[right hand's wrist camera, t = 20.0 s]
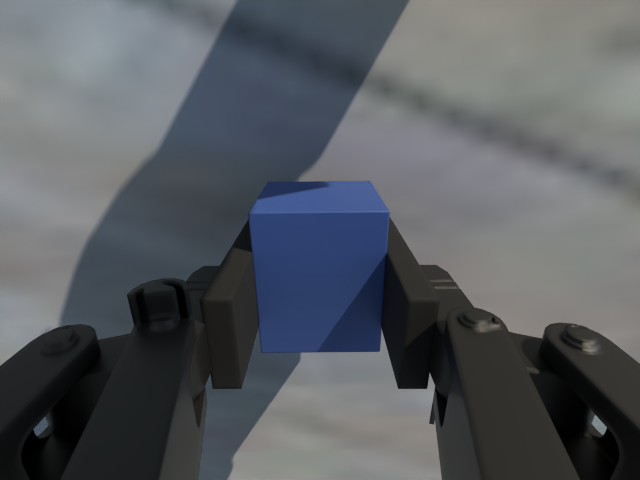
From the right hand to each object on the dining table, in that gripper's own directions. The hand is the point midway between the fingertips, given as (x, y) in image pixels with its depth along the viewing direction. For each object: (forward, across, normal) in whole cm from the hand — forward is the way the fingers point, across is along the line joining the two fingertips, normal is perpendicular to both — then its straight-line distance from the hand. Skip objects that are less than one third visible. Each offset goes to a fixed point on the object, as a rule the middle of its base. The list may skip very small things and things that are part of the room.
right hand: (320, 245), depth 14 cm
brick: (0, 0, 0) cm, 0 cm away
